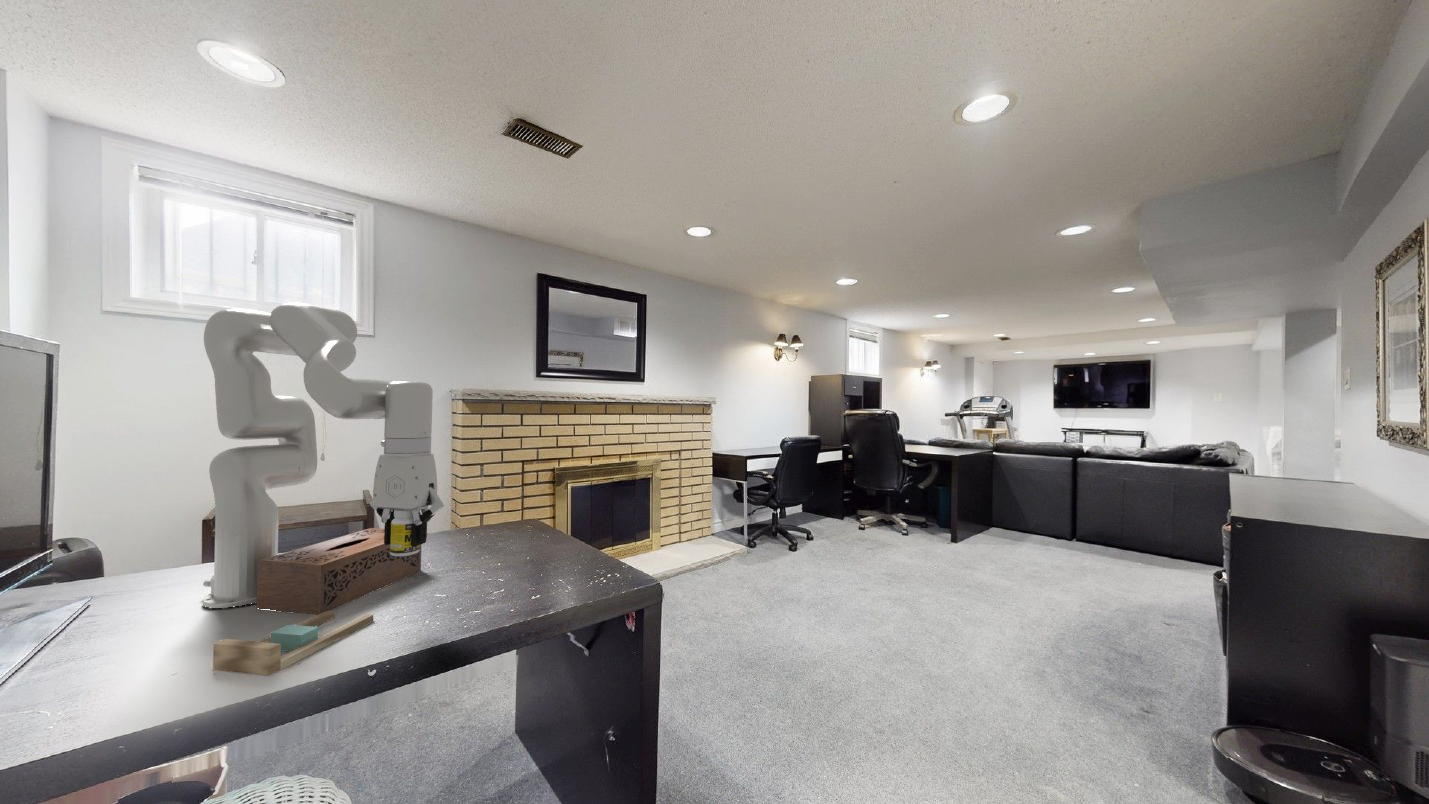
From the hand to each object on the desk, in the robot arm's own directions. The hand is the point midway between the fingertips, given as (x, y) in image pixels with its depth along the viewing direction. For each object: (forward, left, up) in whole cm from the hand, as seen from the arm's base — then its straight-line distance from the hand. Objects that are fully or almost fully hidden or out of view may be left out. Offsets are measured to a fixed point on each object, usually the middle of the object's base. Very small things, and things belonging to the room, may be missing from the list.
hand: (405, 542), depth 90 cm
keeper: (-11, -11, -15) cm, 22 cm away
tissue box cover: (-25, +13, -15) cm, 32 cm away
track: (-11, -9, -15) cm, 21 cm away
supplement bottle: (0, 0, -2) cm, 2 cm away
